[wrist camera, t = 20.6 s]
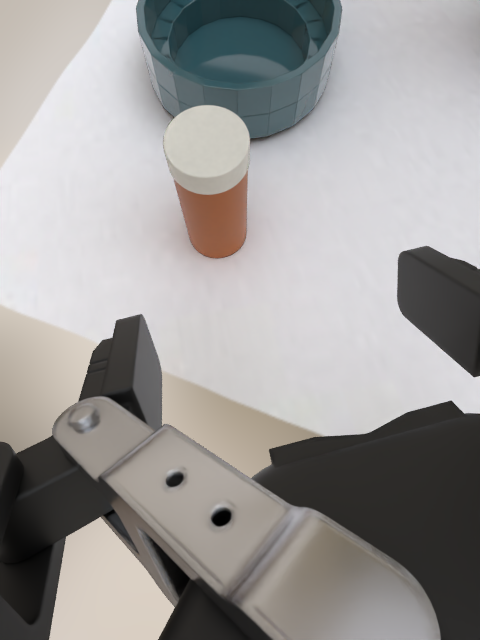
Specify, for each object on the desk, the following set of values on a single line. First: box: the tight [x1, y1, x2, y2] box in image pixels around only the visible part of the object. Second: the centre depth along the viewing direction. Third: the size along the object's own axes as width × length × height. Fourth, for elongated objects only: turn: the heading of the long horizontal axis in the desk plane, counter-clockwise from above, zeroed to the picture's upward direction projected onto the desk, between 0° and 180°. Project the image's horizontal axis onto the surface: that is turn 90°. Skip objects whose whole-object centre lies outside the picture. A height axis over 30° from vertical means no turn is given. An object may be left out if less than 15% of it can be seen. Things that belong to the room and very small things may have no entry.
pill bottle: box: [163, 105, 250, 258], centre depth 26 cm, size 5×5×10 cm
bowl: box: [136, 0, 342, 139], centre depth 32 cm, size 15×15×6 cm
